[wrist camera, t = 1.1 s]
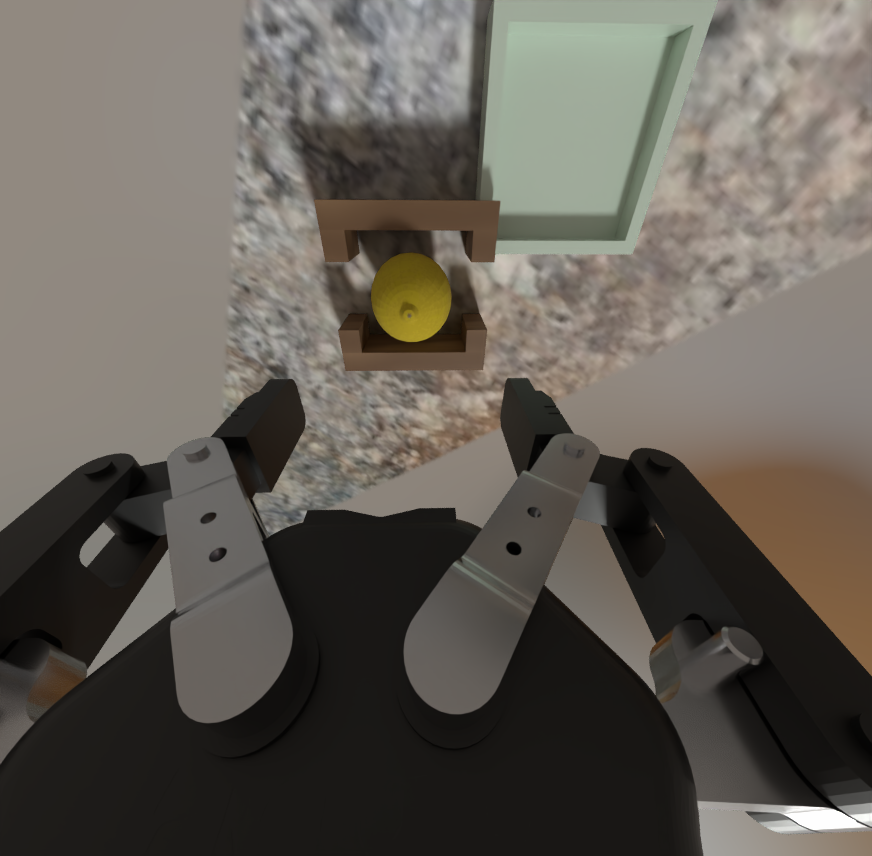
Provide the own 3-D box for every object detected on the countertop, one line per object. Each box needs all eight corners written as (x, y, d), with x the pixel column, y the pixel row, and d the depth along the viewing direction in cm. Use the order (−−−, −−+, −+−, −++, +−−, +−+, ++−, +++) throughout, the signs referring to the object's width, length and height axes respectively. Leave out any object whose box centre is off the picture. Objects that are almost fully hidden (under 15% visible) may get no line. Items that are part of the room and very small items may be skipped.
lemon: (427, 331, 27) (427, 373, 21) (368, 299, 25) (348, 333, 19) (461, 270, 24) (473, 297, 18) (397, 229, 23) (385, 242, 16)
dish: (487, 17, 17) (494, -6, 15) (686, 20, 17) (718, -1, 15) (472, 249, 23) (476, 253, 22) (616, 249, 24) (632, 254, 22)
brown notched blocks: (331, 199, 21) (313, 199, 18) (489, 200, 22) (500, 200, 18) (355, 350, 28) (345, 370, 25) (476, 350, 28) (483, 369, 25)
